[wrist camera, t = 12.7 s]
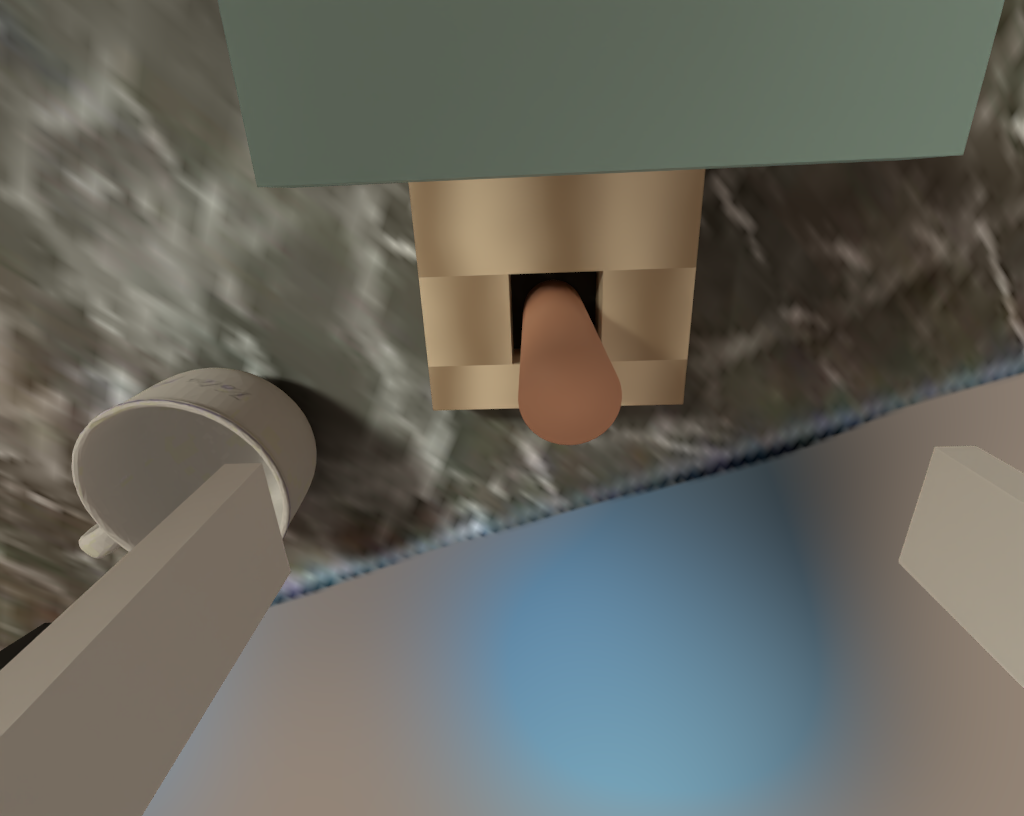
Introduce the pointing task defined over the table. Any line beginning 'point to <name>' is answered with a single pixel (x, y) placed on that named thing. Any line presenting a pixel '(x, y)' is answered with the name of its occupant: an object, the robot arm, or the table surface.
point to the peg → (564, 368)
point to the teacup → (187, 451)
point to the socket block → (551, 249)
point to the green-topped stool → (598, 85)
